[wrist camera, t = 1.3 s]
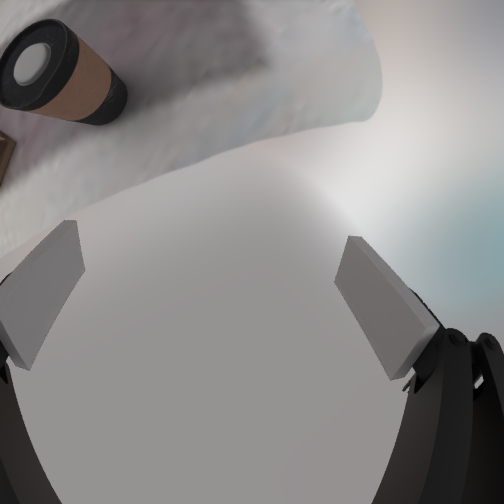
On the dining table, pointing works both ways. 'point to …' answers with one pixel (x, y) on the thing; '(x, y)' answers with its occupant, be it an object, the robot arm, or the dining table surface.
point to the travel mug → (59, 76)
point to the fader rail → (5, 152)
